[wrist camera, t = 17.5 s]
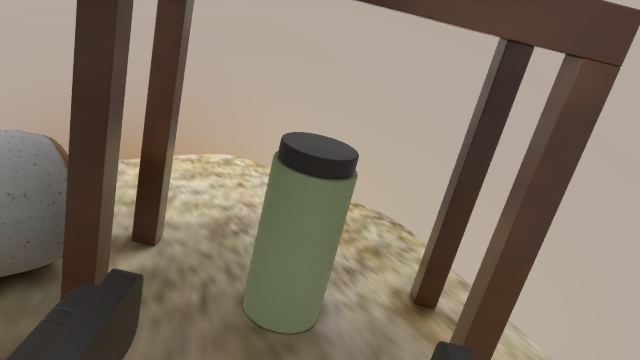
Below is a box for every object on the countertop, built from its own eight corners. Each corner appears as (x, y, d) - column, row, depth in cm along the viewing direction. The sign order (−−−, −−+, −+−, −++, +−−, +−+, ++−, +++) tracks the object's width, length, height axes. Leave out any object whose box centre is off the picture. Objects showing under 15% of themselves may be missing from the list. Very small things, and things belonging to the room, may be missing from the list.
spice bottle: (235, 323, 26) (272, 147, 22) (249, 279, 30) (282, 124, 27) (316, 341, 26) (364, 169, 23) (319, 295, 30) (361, 143, 27)
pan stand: (19, 369, 20) (32, -268, 13) (184, 179, 42) (225, -101, 34) (484, 468, 21) (749, -75, 14) (411, 231, 42) (499, -30, 35)
